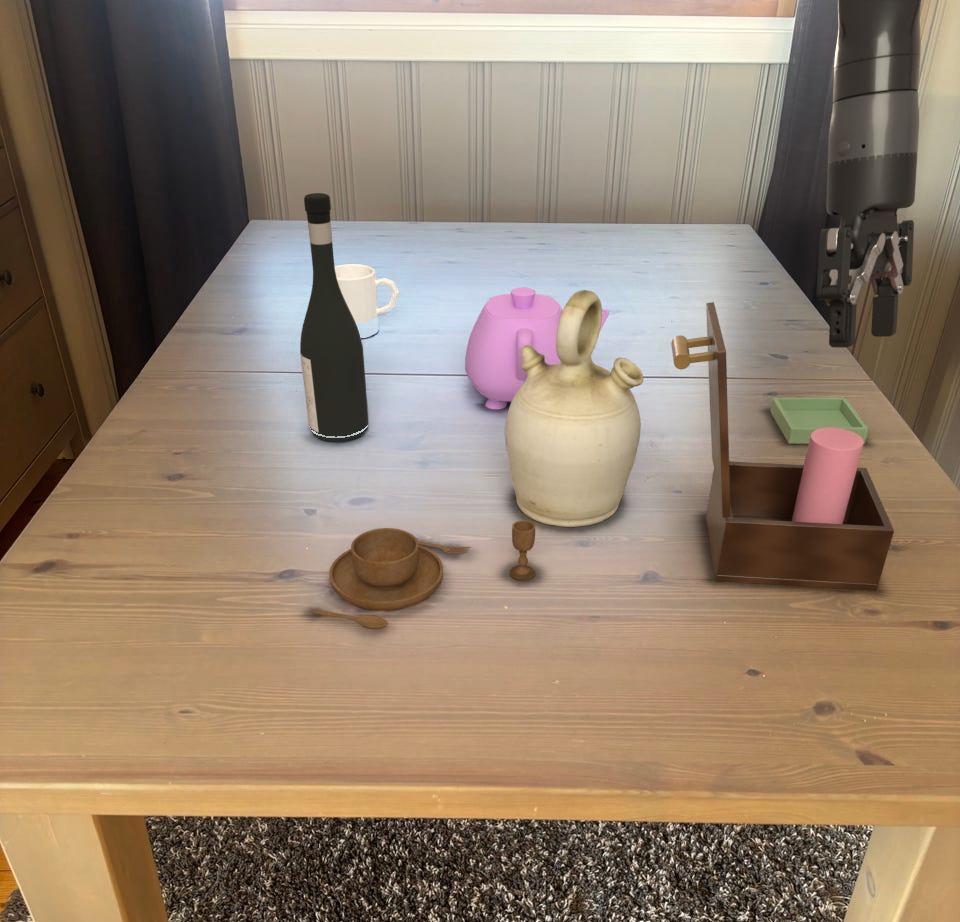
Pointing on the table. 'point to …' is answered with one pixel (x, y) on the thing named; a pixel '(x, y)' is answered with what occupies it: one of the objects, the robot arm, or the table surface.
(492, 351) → the teapot
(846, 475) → the tube
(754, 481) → the chest
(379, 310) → the mug
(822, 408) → the tray
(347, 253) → the table surface
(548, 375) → the jug
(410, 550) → the place setting
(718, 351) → the chest lid
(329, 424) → the wine bottle
